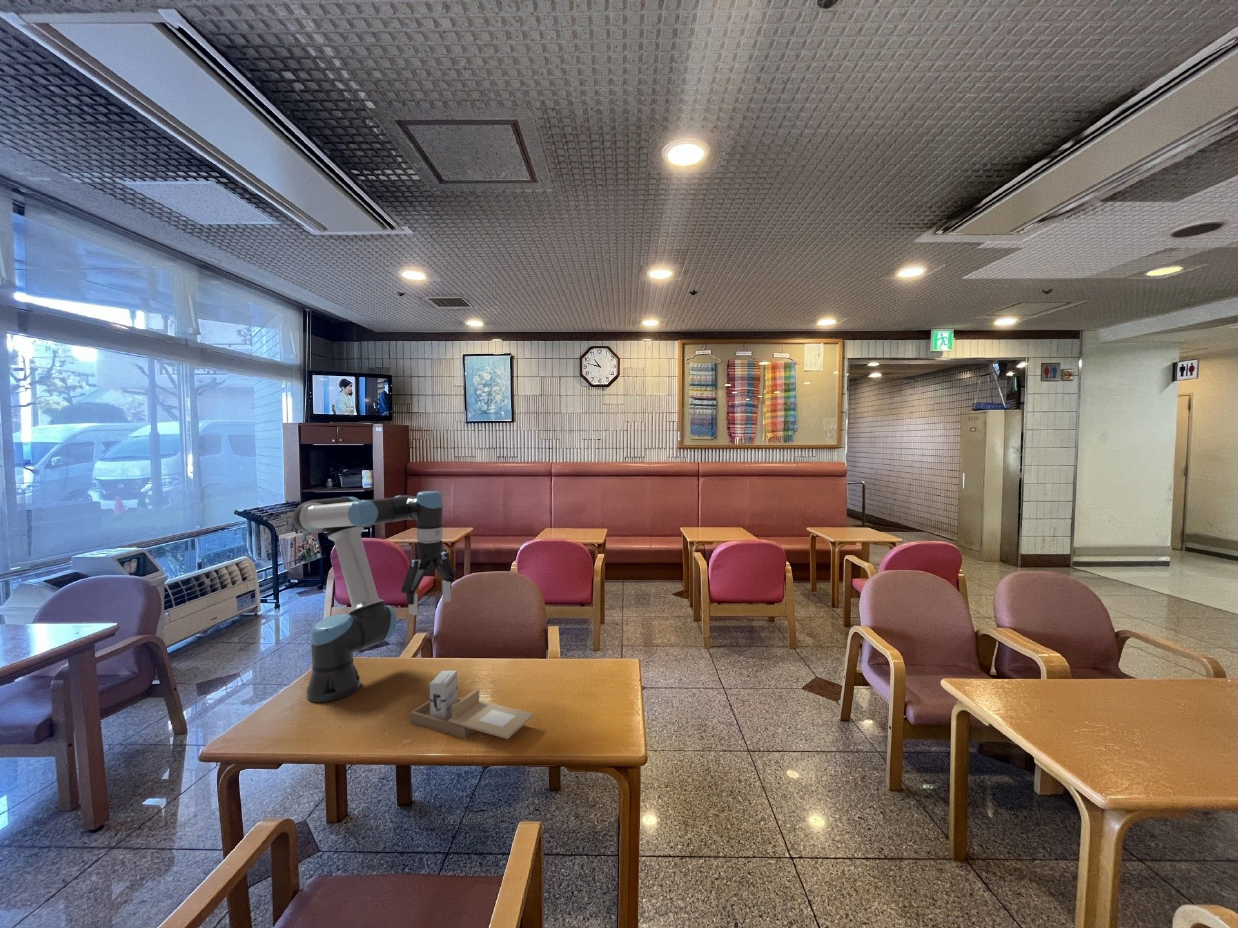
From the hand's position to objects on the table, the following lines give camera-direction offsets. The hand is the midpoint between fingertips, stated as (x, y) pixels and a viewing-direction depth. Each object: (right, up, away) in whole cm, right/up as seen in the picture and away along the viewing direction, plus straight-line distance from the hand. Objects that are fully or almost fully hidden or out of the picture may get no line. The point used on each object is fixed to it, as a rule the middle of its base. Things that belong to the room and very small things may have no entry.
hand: (430, 607), depth 156 cm
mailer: (+11, -29, -13) cm, 33 cm away
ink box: (+9, -28, -12) cm, 32 cm away
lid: (+24, -26, -19) cm, 40 cm away
